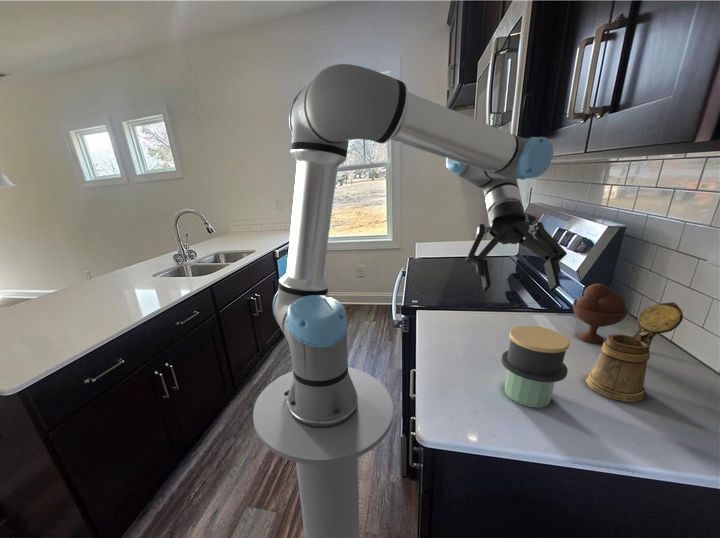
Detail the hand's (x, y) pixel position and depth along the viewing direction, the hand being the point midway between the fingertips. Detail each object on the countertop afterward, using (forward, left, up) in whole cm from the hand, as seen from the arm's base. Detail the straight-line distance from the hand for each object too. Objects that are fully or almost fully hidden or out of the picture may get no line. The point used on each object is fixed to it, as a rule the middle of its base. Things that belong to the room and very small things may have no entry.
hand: (520, 288), depth 69 cm
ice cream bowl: (+23, +19, -20) cm, 36 cm away
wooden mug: (+21, -3, -20) cm, 29 cm away
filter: (+2, -11, -15) cm, 18 cm away
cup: (+2, -11, -20) cm, 23 cm away
